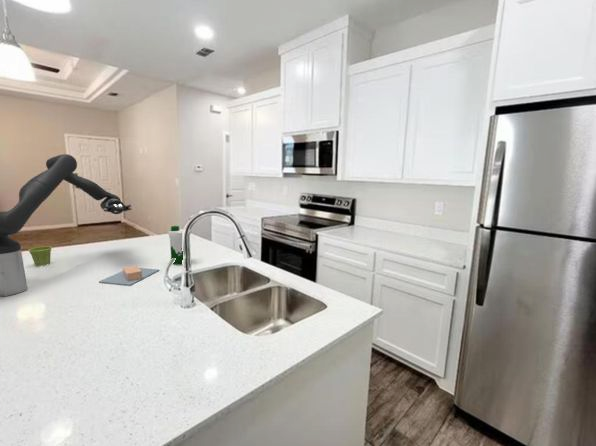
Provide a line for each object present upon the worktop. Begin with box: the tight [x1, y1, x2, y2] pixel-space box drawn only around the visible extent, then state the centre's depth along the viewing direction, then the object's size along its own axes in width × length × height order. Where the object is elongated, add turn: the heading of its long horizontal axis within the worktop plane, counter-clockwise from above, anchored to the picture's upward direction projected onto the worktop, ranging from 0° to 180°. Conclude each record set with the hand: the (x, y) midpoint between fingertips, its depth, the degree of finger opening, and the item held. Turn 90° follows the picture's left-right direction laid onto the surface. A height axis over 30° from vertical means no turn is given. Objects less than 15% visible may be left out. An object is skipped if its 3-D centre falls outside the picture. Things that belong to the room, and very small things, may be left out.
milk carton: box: [167, 225, 184, 266], centre depth 161 cm, size 9×9×20 cm
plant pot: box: [28, 245, 53, 267], centre depth 155 cm, size 9×9×9 cm
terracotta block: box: [122, 265, 142, 281], centre depth 140 cm, size 4×6×10 cm
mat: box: [98, 267, 160, 287], centre depth 142 cm, size 20×16×1 cm
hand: (120, 210), depth 147 cm, fingers closed
